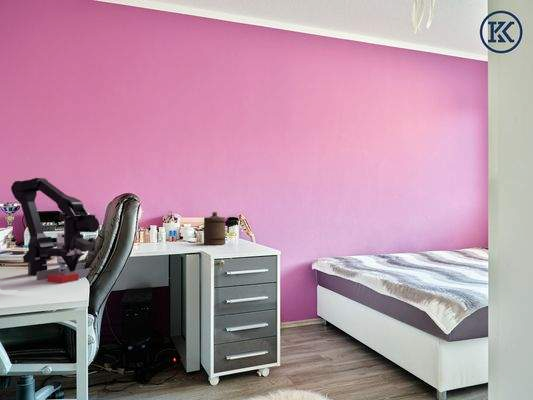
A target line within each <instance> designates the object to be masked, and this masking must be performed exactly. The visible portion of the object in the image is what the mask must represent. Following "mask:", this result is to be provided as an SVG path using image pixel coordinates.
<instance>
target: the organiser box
mask: <svg viewBox="0 0 533 400" xmlns="http://www.w3.org/2000/svg"><path fill="white" fill-rule="evenodd" d="M85 265H86V261H85V262H81V263H77V266H76V268H75V271H72V272H70V270H69V268H68V266H67V265H65V266H66V272H67V273H62V275H69V274H74V273H76V274H79V279H83V278H87V275H88V273H89V271H90V269H91V268H86V269H85ZM57 273H60V272H59V267H56V268H55V267H54V268H49V269H47V270H44V271H38V272H37V275H36V281H42V280H47V275H51V274H57Z"/></svg>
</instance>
